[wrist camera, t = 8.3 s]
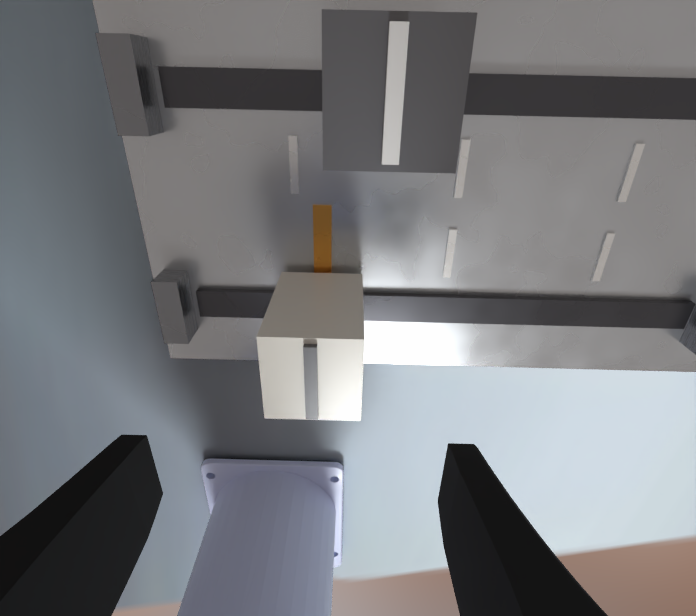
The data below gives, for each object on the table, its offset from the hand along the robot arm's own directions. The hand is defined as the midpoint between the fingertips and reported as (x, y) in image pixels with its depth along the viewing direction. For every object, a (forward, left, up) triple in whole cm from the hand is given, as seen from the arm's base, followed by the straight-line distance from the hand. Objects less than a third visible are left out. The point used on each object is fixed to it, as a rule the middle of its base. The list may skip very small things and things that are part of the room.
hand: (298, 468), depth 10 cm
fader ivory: (0, 0, -8) cm, 8 cm away
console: (+4, -5, -10) cm, 12 cm away
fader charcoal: (+8, -2, -8) cm, 12 cm away
